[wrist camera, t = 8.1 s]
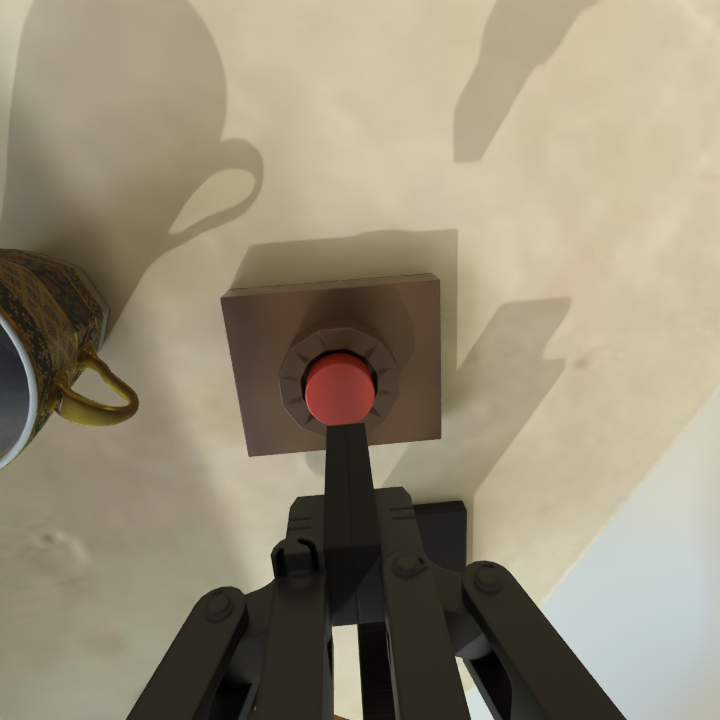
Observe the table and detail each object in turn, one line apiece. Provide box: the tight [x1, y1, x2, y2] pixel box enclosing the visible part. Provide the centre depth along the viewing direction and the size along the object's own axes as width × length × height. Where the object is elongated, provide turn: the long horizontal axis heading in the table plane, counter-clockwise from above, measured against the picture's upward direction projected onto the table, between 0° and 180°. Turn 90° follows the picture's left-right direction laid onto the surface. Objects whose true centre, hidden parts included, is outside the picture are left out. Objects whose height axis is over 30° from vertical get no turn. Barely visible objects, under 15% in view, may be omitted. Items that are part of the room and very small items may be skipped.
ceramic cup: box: [0, 249, 139, 470], centre depth 22 cm, size 13×10×10 cm
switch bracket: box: [357, 501, 467, 720], centre depth 27 cm, size 12×9×15 cm
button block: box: [220, 273, 441, 457], centre depth 27 cm, size 12×10×4 cm
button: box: [305, 353, 375, 425], centre depth 24 cm, size 4×4×2 cm
